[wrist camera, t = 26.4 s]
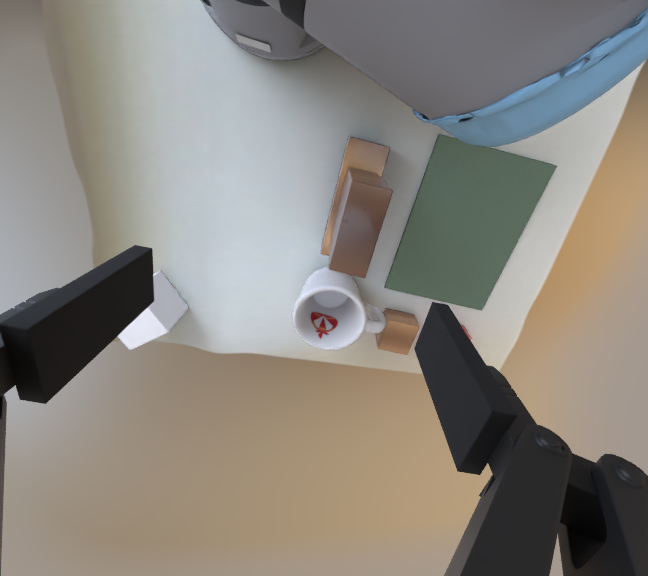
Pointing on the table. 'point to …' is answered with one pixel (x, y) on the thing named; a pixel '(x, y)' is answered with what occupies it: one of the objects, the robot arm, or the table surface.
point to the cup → (333, 311)
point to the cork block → (397, 332)
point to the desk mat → (466, 222)
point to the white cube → (155, 314)
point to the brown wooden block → (357, 208)
